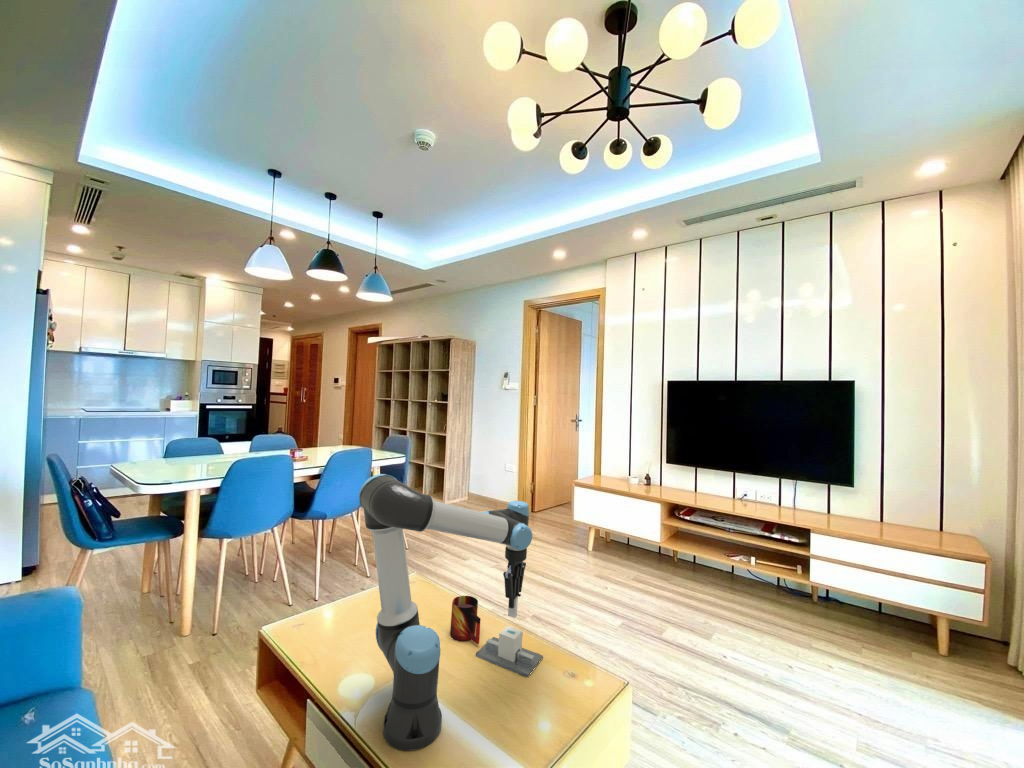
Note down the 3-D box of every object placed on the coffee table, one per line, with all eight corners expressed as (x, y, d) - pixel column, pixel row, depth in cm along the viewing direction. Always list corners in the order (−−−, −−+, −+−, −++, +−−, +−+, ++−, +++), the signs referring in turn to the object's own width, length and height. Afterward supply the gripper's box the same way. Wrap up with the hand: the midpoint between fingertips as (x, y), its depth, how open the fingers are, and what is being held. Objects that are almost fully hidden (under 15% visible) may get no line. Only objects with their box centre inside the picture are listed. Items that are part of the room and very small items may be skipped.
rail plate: (527, 677, 131) (528, 668, 131) (475, 656, 141) (476, 647, 141) (542, 658, 142) (543, 649, 142) (493, 639, 151) (493, 631, 151)
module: (513, 662, 137) (514, 639, 138) (497, 655, 140) (499, 633, 140) (521, 653, 142) (522, 630, 143) (506, 647, 145) (507, 625, 146)
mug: (477, 648, 145) (480, 613, 146) (444, 636, 151) (447, 603, 152) (490, 635, 154) (492, 602, 155) (458, 624, 160) (461, 593, 161)
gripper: (517, 554, 136) (513, 627, 135) (533, 544, 147) (530, 611, 146) (497, 549, 139) (493, 621, 138) (515, 539, 151) (511, 605, 150)
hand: (512, 615), depth 142 cm, fingers closed
